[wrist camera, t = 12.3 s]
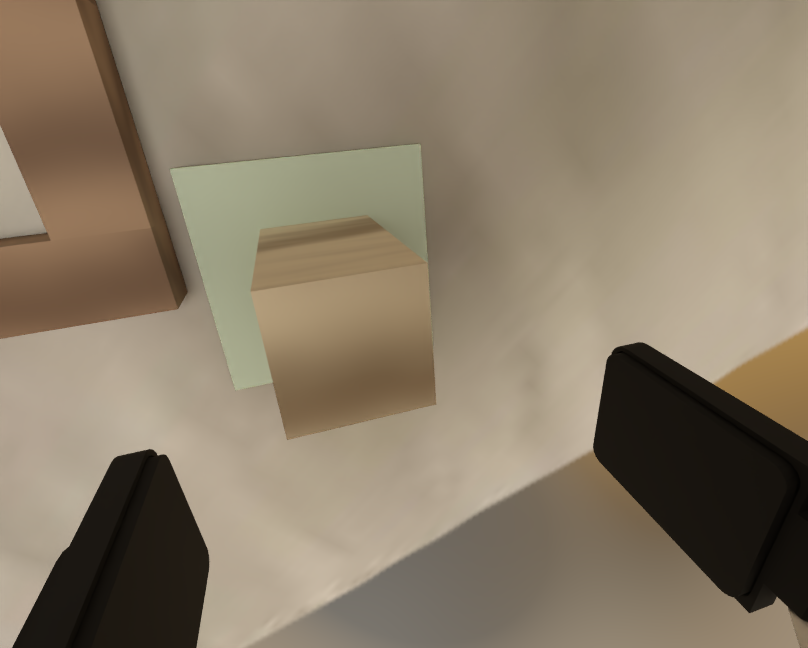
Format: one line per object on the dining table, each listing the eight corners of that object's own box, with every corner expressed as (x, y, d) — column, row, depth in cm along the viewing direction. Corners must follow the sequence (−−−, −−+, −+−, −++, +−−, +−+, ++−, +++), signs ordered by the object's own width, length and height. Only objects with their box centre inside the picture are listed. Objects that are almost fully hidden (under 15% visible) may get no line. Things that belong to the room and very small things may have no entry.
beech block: (260, 229, 21) (250, 292, 12) (367, 215, 22) (427, 263, 14) (282, 327, 24) (287, 439, 15) (378, 310, 25) (436, 404, 16)
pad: (172, 168, 20) (169, 169, 19) (417, 143, 22) (420, 143, 22) (236, 385, 25) (235, 390, 24) (430, 344, 27) (433, 348, 27)
